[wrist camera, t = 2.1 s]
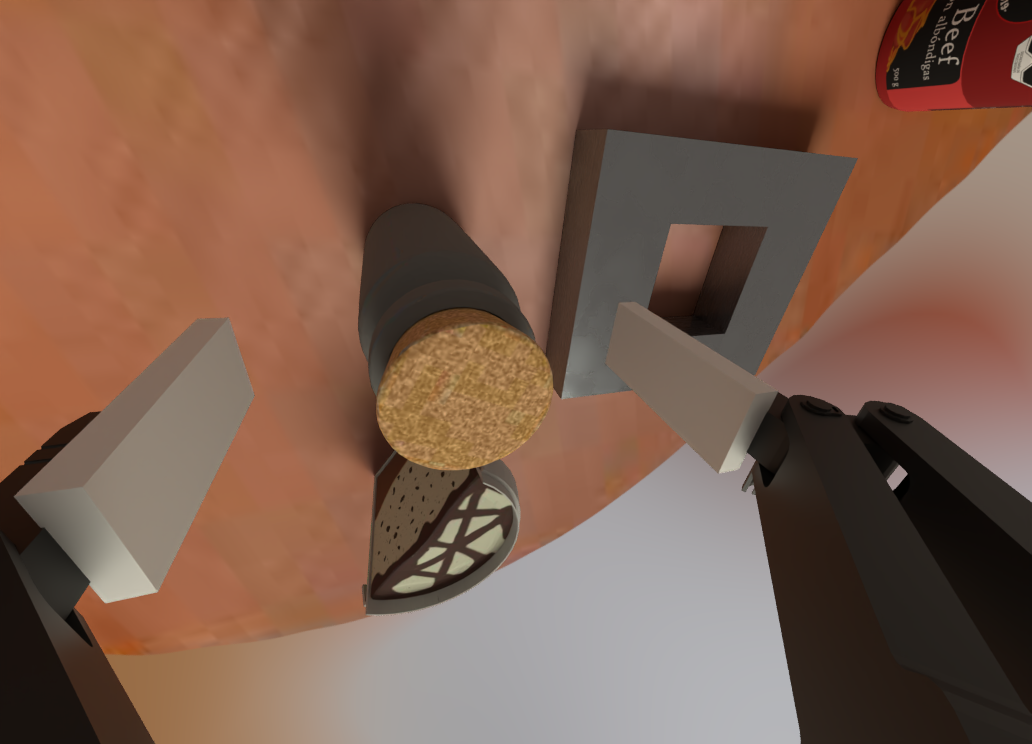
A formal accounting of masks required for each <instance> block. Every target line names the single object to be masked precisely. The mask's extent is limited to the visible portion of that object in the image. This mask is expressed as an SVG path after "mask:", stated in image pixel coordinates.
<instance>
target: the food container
mask: <svg viewBox="0 0 1032 744" xmlns="http://www.w3.org/2000/svg"><path fill="white" fill-rule="evenodd" d="M519 523H520V505H519V497H518V490H517V486H516V482H515V479H514V477H513V475H512V473H511V471H510V470H509V469H508V467H507V466H506V465H505V464H504V463H503V461H501V460H500V459H499V460H496V461H494V462H492V463H489V464H486V465H483V466H480V467H476V468H471V469H464V470H438V469H432V468H428V467H425V466H422V465H419V464H417V463H414V462H411V461H410V460H408V459H406V458H405V457H403V456H402V455H400V454H399V453H398V452H397V451H394V452H393V453H392V454H391V456H390V457H389V458H388V460H387V461H386V462H385V463H384V465H383V466H382V467H381V468H380V470H379V471H378V472H377V474H376V475H375V477H374V491H373V506H372V521H371V536H370V551H369V565H368V580H367V585H364V584H363V586H362V594H363V604H364V607H366V615H376V616H380V615H381V616H382V615H396V614H402V613H409V612H413V611H418V610H422V609H426V608H429V607H432V606H435V605H438V604H441V603H443V602H446V601H448V600H451V599H453V598H455V597H457V596H459V595H461V594H463V593H465V592H467V591H469V590H470V589H472V588H473V587H475V586H477V585H478V584H480V583H481V582H482V581H484V580H485V579H486V578H488V577H489V576H490V575H491V574H492V573H493V572H494V571H496V570H497V569H498V568H499V567H500V565H501V564H502V563H503V562H504V561H505V560H506V558H507V557H508V555H509V554H510V552H511V551H512V549H513V547H514V545H515V542H516V540H517V536H518V532H519Z"/></svg>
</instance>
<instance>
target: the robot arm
mask: <svg viewBox="0 0 1032 744" xmlns="http://www.w3.org/2000/svg"><path fill="white" fill-rule="evenodd" d="M605 364H606V365H607V366H608V367H609V368H610V369H611V370H612V371H614V372H615V373H616V374H617V375H618V376H619V377H620V378H621V379H622V380H623V381H624V382H625V383H626V384H627V385H628V386H629V387H630V388H631V389H632V390H633V391H634V392H635V393H636V394H637V395H638V396H639V397H640V398H641V399H642V400H643V401H644V402H645V403H646V404H647V405H648V406H649V407H650V408H651V409H652V410H653V411H654V412H656V413H657V414H658V415H659V416H660V417H661V418H662V419H663V420H664V421H665V422H666V423H667V424H668V425H669V426H670V427H671V428H672V429H673V430H674V431H675V432H676V433H677V434H678V435H679V436H680V437H681V438H682V439H683V440H684V441H685V442H686V443H687V444H688V445H689V446H690V447H691V448H692V449H693V450H695V452H697V453H698V454H699V455H700V456H701V457H702V458H703V459H704V460H705V461H706V462H707V463H708V464H709V465H710V466H711V467H712V468H713V469H714V470H715V471H716V472H717V473H723V472H728V471H733V470H738V469H739V468H740V466H741V464H742V462H743V460H744V458H745V456H746V454H747V453H748V454H750V455H751V456H752V457H753V458H754V459H756V461H755V463H754V465H753V467H752V469H751V471H750V473H749V474H748V476H747V478H746V480H745V482H744V484H743V486H742V491H744V492H746V490H747V489H748V487H749V486H751V485H754V490H753V492H752V494H754V495H756V499H757V504H758V509H759V514H760V520H761V525H762V531H763V536H764V541H765V547H766V552H767V557H768V563H769V568H770V573H771V579H772V584H773V589H774V595H775V600H776V606H777V611H778V616H779V622H780V627H781V632H782V638H783V643H784V648H785V654H786V659H787V664H788V670H789V675H790V681H791V686H792V691H793V696H794V702H795V707H796V713H797V718H798V723H799V729H800V737H801V744H1032V502H1030V501H1029V500H1028V499H1026V498H1025V497H1024V496H1022V495H1021V494H1020V493H1019V492H1017V491H1016V490H1015V489H1013V488H1012V487H1011V486H1009V485H1008V484H1007V483H1006V482H1004V481H1003V480H1002V479H1000V478H999V477H998V476H996V475H995V474H994V473H993V472H991V471H990V470H989V469H987V468H986V467H985V466H983V465H982V464H981V463H979V462H978V461H977V460H975V459H974V458H973V457H971V456H970V455H969V454H968V453H966V452H965V451H964V450H962V449H961V448H960V447H958V446H957V445H956V444H955V443H953V442H952V441H951V440H949V439H948V438H947V437H945V436H944V435H943V434H942V433H940V432H939V431H937V430H936V429H935V428H934V427H932V426H931V425H930V424H928V423H927V422H926V421H924V420H923V419H922V418H920V417H919V416H917V415H916V414H914V413H912V412H910V411H909V410H907V409H905V408H904V407H902V406H899V405H895V404H892V403H884V402H880V401H869V402H866V403H865V404H864V405H863V407H862V409H861V410H860V412H859V413H858V415H857V416H853V415H845V414H844V413H843V412H842V411H841V410H840V409H839V408H838V407H836V406H834V405H832V404H830V403H828V402H825V401H824V400H821V399H817V398H814V397H811V396H805V395H793V396H792V397H790V398H789V399H788V398H787V397H785V396H783V395H782V394H780V393H779V392H778V390H776V389H775V388H773V387H771V386H770V385H768V384H767V383H765V382H763V381H762V380H760V379H758V378H757V377H755V376H754V375H752V374H750V373H749V372H747V371H746V370H744V369H742V368H741V367H739V366H738V365H736V364H734V363H733V362H731V361H730V360H728V359H726V358H725V357H723V356H721V355H720V354H718V353H717V352H715V351H713V350H712V349H710V348H709V347H707V346H705V345H704V344H702V343H701V342H699V341H697V340H696V339H694V338H693V337H691V336H689V335H688V334H686V333H684V332H683V331H681V330H680V329H678V328H676V327H675V326H673V325H672V324H670V323H668V322H667V321H665V320H664V319H662V318H660V317H659V316H657V315H656V314H654V313H652V312H651V311H649V310H647V309H646V308H644V307H643V306H641V305H639V304H638V303H636V302H620V303H618V308H617V312H616V317H615V321H614V326H613V330H612V335H611V339H610V344H609V348H608V353H607V357H606V362H605ZM254 396H255V395H254V392H253V389H252V386H251V383H250V380H249V377H248V374H247V371H246V368H245V365H244V362H243V359H242V356H241V353H240V350H239V347H238V344H237V341H236V338H235V335H234V332H233V329H232V326H231V323H230V320H229V318H205V319H197V320H196V321H195V322H194V323H193V324H192V325H191V326H189V327H188V328H187V329H186V330H185V331H184V332H183V333H182V334H181V335H180V336H179V337H178V338H177V339H176V340H175V341H174V342H173V343H172V344H171V345H170V346H169V347H168V348H167V349H166V350H165V351H164V352H163V353H162V354H161V355H159V356H158V357H157V358H156V359H155V360H154V361H153V362H152V363H151V364H150V365H149V366H148V367H147V368H146V369H145V370H144V371H143V372H142V373H141V374H140V375H139V376H138V377H137V378H136V379H135V380H134V381H133V382H132V383H131V384H129V385H128V386H127V387H126V388H125V389H124V390H123V391H122V392H121V393H120V394H119V395H118V396H117V397H116V398H115V399H114V400H113V401H112V402H111V403H110V404H109V405H108V406H107V407H106V408H105V409H104V410H103V411H100V412H90V413H88V414H86V415H84V416H83V417H81V418H79V419H77V420H75V421H74V422H72V423H70V424H68V425H66V426H65V427H63V428H61V429H60V430H59V431H58V432H57V433H55V434H54V435H53V436H52V437H51V438H50V439H49V440H48V441H47V442H45V443H44V444H43V445H42V446H41V450H36V451H35V452H34V453H33V454H32V455H31V456H30V457H29V458H28V459H26V460H25V461H24V463H25V464H24V465H20V466H19V467H18V468H16V469H15V470H14V471H13V472H12V473H11V474H10V475H9V476H7V477H6V478H5V479H4V480H3V481H2V482H1V483H0V744H155V743H154V741H153V740H152V738H151V736H150V734H149V732H148V731H147V729H146V727H145V726H144V724H143V722H142V720H141V718H140V716H139V715H138V713H137V711H136V709H135V708H134V706H133V704H132V702H131V701H130V699H129V697H128V695H127V694H126V692H125V690H124V688H123V686H122V685H121V683H120V681H119V680H118V678H117V676H116V674H115V673H114V671H113V669H112V667H111V665H110V664H109V662H108V660H107V658H106V657H105V655H104V653H103V651H102V649H101V648H100V646H99V644H98V642H97V641H96V639H95V637H94V635H93V633H92V632H91V630H90V628H89V626H88V625H87V623H86V621H85V619H84V618H83V616H82V615H81V614H80V613H79V612H78V611H77V610H76V609H75V608H74V606H75V605H76V603H77V602H78V600H79V599H80V597H81V596H82V594H83V593H84V591H85V590H86V588H87V587H88V585H90V586H91V587H92V588H93V590H94V591H95V592H96V593H97V594H98V595H99V597H100V598H101V599H102V600H103V601H104V602H105V603H109V602H114V601H118V600H123V599H128V598H133V597H137V596H142V595H147V594H151V593H156V592H158V591H159V589H160V587H161V585H162V583H163V580H164V578H165V576H166V574H167V572H168V570H169V568H170V566H171V564H172V562H173V560H174V558H175V556H176V554H177V552H178V550H179V548H180V546H181V544H182V542H183V540H184V538H185V536H186V534H187V532H188V530H189V528H190V526H191V524H192V522H193V520H194V518H195V516H196V514H197V512H198V510H199V508H200V505H201V503H202V501H203V499H204V497H205V495H206V493H207V491H208V489H209V487H210V485H211V483H212V481H213V479H214V477H215V475H216V473H217V471H218V469H219V467H220V465H221V463H222V461H223V459H224V457H225V455H226V453H227V451H228V449H229V447H230V445H231V443H232V441H233V439H234V437H235V435H236V432H237V430H238V428H239V426H240V424H241V422H242V420H243V418H244V416H245V414H246V412H247V410H248V408H249V406H250V404H251V402H252V400H253V398H254ZM898 465H900V466H901V467H902V468H903V469H904V470H905V471H906V472H907V473H908V474H907V476H906V477H905V478H904V479H903V480H902V482H901V483H900V484H899V485H898V487H897V488H896V489H894V490H893V491H892V489H891V488H890V486H889V484H888V483H887V481H886V480H887V479H888V478H889V477H890V475H891V474H892V473H893V472H894V470H895V469H896V468H897V467H898Z"/></svg>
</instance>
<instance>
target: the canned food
mask: <svg viewBox="0 0 1032 744" xmlns="http://www.w3.org/2000/svg"><path fill="white" fill-rule="evenodd" d="M876 86H877V91H878V94H879V97H880V99H881V100H882V102H883V103H884V104H886V105H887V106H889V107H891V108H894V109H898V110H901V111H907V112H908V111H933V110H958V109H983V108H1008V107H1032V0H903V2H902V3H901V5H900V6H899V8H898V9H897V11H896V13H895V15H894V17H893V18H892V20H891V22H890V24H889V26H888V29H887V31H886V33H885V36H884V38H883V41H882V45H881V48H880V51H879V55H878V60H877V65H876Z"/></svg>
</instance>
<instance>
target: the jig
mask: <svg viewBox="0 0 1032 744" xmlns="http://www.w3.org/2000/svg"><path fill="white" fill-rule="evenodd" d="M857 159H858V158H849V157H841V156H832V155H824V154H815V153H807V152H798V151H790V150H781V149H773V148H764V147H755V146H747V145H738V144H730V143H721V142H713V141H704V140H696V139H687V138H679V137H670V136H662V135H653V134H645V133H636V132H628V131H619V130H611V129H595V130H576V136H575V144H574V151H573V158H572V166H571V173H570V181H569V188H568V195H567V203H566V210H565V217H564V225H563V232H562V239H561V247H560V254H559V261H558V269H557V276H556V284H555V291H554V298H553V306H552V313H551V320H550V328H549V335H548V342H547V350H546V357H547V359H548V362H549V365H550V368H551V370H552V375H553V388H554V389H555V391H556V392H557V394H558V395H559V397H560V398H561V399H566V398H574V397H582V396H590V395H598V394H606V393H614V392H622V391H630V390H632V389H631V388H630V387H629V386H628V385H627V384H626V383H625V382H624V381H623V380H622V379H621V378H620V377H619V376H618V375H617V374H616V373H615V372H614V371H612V370H611V369H610V368H609V367H608V366H607V365H606V364H605V362H606V357H607V353H608V348H609V344H610V339H611V335H612V330H613V326H614V321H615V317H616V312H617V308H618V303H620V302H636V303H638V304H639V305H641V306H643V307H644V308H646V309H648V305H649V302H650V298H651V295H652V291H653V287H654V284H655V280H656V276H657V273H658V269H659V265H660V262H661V258H662V254H663V251H664V247H665V244H666V240H667V236H668V233H669V229H670V225H671V224H697V225H724V227H723V230H722V233H721V236H720V239H719V242H718V245H717V248H716V250H715V253H714V256H713V259H712V262H711V265H710V268H709V271H708V274H707V277H706V280H705V282H704V285H703V288H702V291H701V294H700V297H699V300H698V303H697V306H696V309H695V312H694V314H693V316H678V317H661V318H662V319H664V320H665V321H667V322H668V323H670V324H672V325H673V326H675V327H676V328H678V329H680V330H681V331H683V332H684V333H686V334H688V335H689V336H691V337H693V338H694V339H696V340H697V341H699V342H701V343H702V344H704V345H705V346H707V347H709V348H710V349H712V350H713V351H715V352H717V353H718V354H720V355H721V356H723V357H725V358H726V359H728V360H730V361H731V362H733V363H734V364H736V365H738V366H739V367H741V368H742V369H744V370H746V371H747V372H749V373H750V374H752V375H755V374H756V372H757V370H758V367H759V365H760V363H761V361H762V359H763V357H764V355H765V353H766V351H767V349H768V346H769V344H770V342H771V340H772V338H773V336H774V334H775V332H776V330H777V328H778V325H779V323H780V321H781V319H782V317H783V315H784V313H785V311H786V309H787V306H788V304H789V302H790V300H791V298H792V296H793V294H794V292H795V290H796V288H797V285H798V283H799V281H800V279H801V277H802V275H803V273H804V271H805V269H806V267H807V264H808V262H809V260H810V258H811V256H812V254H813V252H814V250H815V248H816V246H817V243H818V241H819V239H820V237H821V235H822V233H823V231H824V229H825V227H826V225H827V222H828V220H829V218H830V216H831V214H832V212H833V210H834V208H835V206H836V204H837V201H838V199H839V197H840V195H841V193H842V191H843V189H844V187H845V185H846V182H847V180H848V178H849V176H850V174H851V172H852V170H853V168H854V166H855V164H856V161H857Z"/></svg>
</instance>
